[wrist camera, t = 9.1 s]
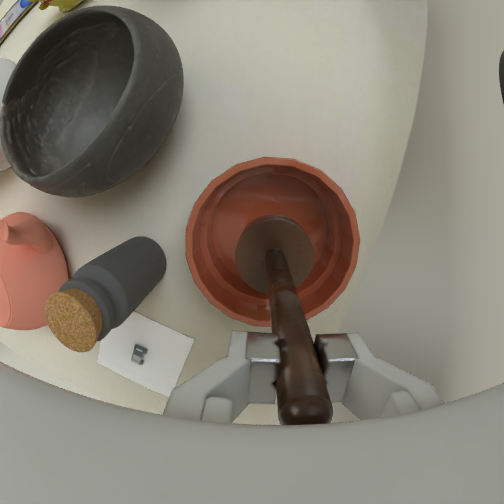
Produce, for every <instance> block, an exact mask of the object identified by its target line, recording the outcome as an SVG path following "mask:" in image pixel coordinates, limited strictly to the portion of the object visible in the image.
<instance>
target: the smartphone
mask: <svg viewBox="0 0 504 504" xmlns="http://www.w3.org/2000/svg"><path fill="white" fill-rule="evenodd" d="M36 2H37V1H36ZM36 2H30V1H27V0H18V1H17V2H16V3H15V4H14V5H13V6H12V8H11V9H10V10H9V11H8V12H7V13H6V15H5V16H4V17H3V18H2V19H1V21H0V44H1V42H2V41H3V40H4V38H5V37H6V36H7V35H8V33H9V32H10V31H11V30H12V28H13V27H14V26H15V25H16V24H17V22H18V21H19V20H20V19H21V18H22V17H23V16H24V15H25V13H26V12H27V11H28V10H29V9H30V8H31V7H32V6H33V5H34V4H35V3H36Z"/></svg>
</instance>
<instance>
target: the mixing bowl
mask: <svg viewBox="0 0 504 504" xmlns="http://www.w3.org/2000/svg"><path fill="white" fill-rule="evenodd" d="M268 214H279V215H284V216H287V217H289V218H291V219H293V220H294V221H296V222H297V223H298V224H299V225H300V226H301V227H302V228H303V230H304V231H305V232H306V233H307V235H308V236H309V238H310V240H311V242H312V245H313V249H314V263H313V267H312V270H311V272H310V274H309V275H308V277H307V278H306V280H305V281H304V282H303V283H302V284H301V285H299V286H298V287H297V288H296V290H297V293H298V296H299V299H300V302H301V305H302V308H303V312H304V315H305V318H306V320H308V319H310V318H311V317H313V316H315V315H317V314H318V313H320V312H322V311H323V310H325V309H327V308H328V307H329V306H330V305H331V304H332V303H333V302H334V301H335V300H336V299H337V297H338V296H339V295H340V294H341V293H342V292H343V291H344V290H345V288H346V286H347V284H348V282H349V280H350V278H351V276H352V274H353V272H354V270H355V268H356V265H357V258H358V251H359V244H360V236H359V231H358V225H357V220H356V215H355V212H354V210H353V208H352V206H351V205H350V203H349V201H348V199H347V197H346V196H345V194H344V192H343V190H342V189H341V188H340V187H339V186H338V185H337V184H336V183H335V182H334V181H332V180H331V179H330V178H329V177H328V176H327V175H326V174H325V173H323V172H322V171H321V170H319V169H317V168H315V167H312V166H310V165H308V164H305V163H303V162H300V161H298V160H296V159H290V158H276V157H262V158H258V159H254V160H251V161H247V162H243V163H240V164H237V165H234V166H233V167H231V168H230V169H228V170H227V171H225V172H224V173H222V174H221V175H220V176H218V177H217V178H215V179H214V180H212V181H211V182H210V184H209V185H208V186H207V188H206V189H205V190H204V192H203V193H202V194H201V196H200V197H199V198H198V200H197V201H196V202H195V204H194V206H193V209H192V212H191V215H190V218H189V221H188V224H187V228H186V259H187V262H188V265H189V268H190V271H191V273H192V276H193V279H194V282H195V283H196V285H197V286H198V287H199V289H200V290H201V291H202V293H203V294H204V295H205V297H206V298H207V299H208V301H209V302H210V303H211V304H212V305H214V306H215V307H217V308H218V309H219V310H221V311H222V312H224V313H225V314H226V315H228V316H229V317H231V318H233V319H236V320H239V321H241V322H244V323H247V324H250V325H253V326H265V327H271V317H270V305H269V294H267V293H262V292H260V291H257V290H255V289H253V288H252V287H251V286H249V285H248V284H247V283H246V282H245V281H244V280H243V278H242V277H241V275H240V273H239V271H238V269H237V265H236V249H237V245H238V241H239V238H240V236H241V233H242V232H243V230H244V229H245V227H246V226H247V225H248V224H249V223H250V222H252V221H253V220H255V219H256V218H258V217H261V216H264V215H268Z"/></svg>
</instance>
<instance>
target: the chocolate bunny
mask: <svg viewBox="0 0 504 504" xmlns="http://www.w3.org/2000/svg"><path fill="white" fill-rule="evenodd" d="M27 1H30V2H36V1H43V2H44V3H42V2H41V3H42V4H41V5H40V7H39V8H40V10H44V9H46V8H47V7H48V6H49V5H50V6H58V7H59V9H60V12H67V11H70V10H71V9H72V8H74V7H75V6H77V5H78V4H79V3H80V2H82V1H83V0H27Z"/></svg>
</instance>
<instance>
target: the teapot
mask: <svg viewBox="0 0 504 504" xmlns="http://www.w3.org/2000/svg"><path fill="white" fill-rule="evenodd" d="M67 281H68V271H67V265H66V261H65V257H64V254H63V252H62V249H61V247H60V245H59V243H58V241H57V240H56V238H55V236H54V235H53V233H52V232H51V231H50V230H49V228H48V227H47V226H46V225H45V224H44V223H43V222H42V221H41V220H39V219H38V218H37V217H35V216H33V215H31V214H28V213H25V212H17V213H13V214H11V215H8V216H6V217H4V218H3V219H1V220H0V327H4V328H8V329H16V330H32V329H37V328H40V327H43V326H45V325H48V322H47V318H46V313H45V307H46V302H47V300H48V298H49V297H50V296H51V295H52V294H54V293H57V292H58V291H59V289H60V287H61V286H62V285H63V284H64V283H65V282H67Z"/></svg>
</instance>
